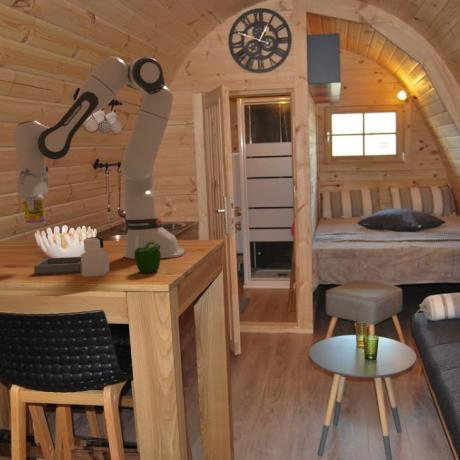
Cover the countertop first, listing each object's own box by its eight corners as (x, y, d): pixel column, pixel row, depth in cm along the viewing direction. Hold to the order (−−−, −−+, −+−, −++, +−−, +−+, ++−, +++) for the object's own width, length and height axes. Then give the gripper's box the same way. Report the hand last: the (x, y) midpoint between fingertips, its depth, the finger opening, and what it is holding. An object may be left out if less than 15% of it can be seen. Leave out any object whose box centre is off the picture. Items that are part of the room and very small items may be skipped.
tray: (89, 264, 195) (89, 256, 194) (80, 272, 182) (79, 263, 182) (47, 266, 195) (46, 258, 194) (34, 274, 182) (33, 265, 182)
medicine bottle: (88, 272, 183) (85, 236, 181) (109, 271, 182) (106, 235, 181) (81, 277, 176) (78, 240, 174) (104, 276, 175) (101, 239, 174)
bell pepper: (130, 274, 177) (128, 243, 175) (143, 268, 184) (141, 239, 183) (153, 275, 174) (151, 244, 172) (165, 269, 181) (163, 239, 180)
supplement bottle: (27, 226, 188) (22, 189, 186) (25, 224, 194) (20, 188, 192) (47, 224, 191) (43, 187, 189) (44, 222, 197) (40, 186, 195)
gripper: (29, 169, 179) (34, 212, 181) (50, 167, 199) (54, 205, 201) (10, 171, 179) (15, 213, 181) (33, 168, 199) (37, 206, 202)
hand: (36, 209), depth 192 cm, fingers closed on supplement bottle, 7 cm apart
